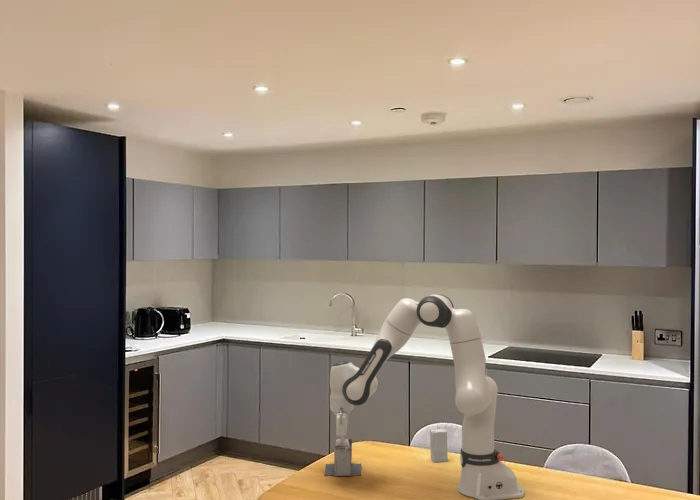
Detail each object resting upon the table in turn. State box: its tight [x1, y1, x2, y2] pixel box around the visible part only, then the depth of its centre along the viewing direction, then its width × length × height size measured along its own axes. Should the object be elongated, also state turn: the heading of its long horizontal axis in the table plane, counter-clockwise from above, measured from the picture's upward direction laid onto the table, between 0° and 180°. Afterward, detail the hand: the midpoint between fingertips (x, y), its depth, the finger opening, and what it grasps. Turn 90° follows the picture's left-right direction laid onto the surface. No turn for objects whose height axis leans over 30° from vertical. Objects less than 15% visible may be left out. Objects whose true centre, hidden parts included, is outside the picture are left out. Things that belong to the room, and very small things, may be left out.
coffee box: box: [333, 438, 353, 477], centre depth 243 cm, size 9×6×16 cm
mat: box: [323, 463, 362, 477], centre depth 242 cm, size 14×12×1 cm
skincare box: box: [429, 428, 449, 463], centre depth 251 cm, size 6×4×12 cm
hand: (342, 441), depth 237 cm, fingers closed
